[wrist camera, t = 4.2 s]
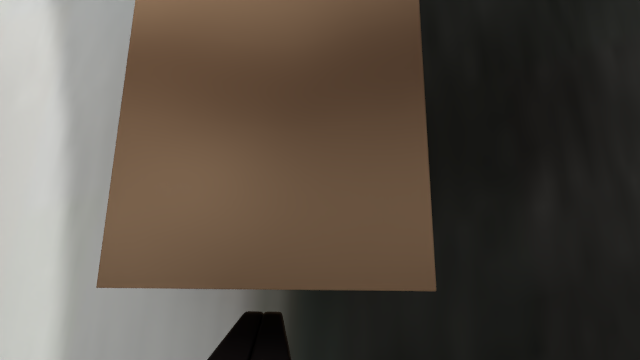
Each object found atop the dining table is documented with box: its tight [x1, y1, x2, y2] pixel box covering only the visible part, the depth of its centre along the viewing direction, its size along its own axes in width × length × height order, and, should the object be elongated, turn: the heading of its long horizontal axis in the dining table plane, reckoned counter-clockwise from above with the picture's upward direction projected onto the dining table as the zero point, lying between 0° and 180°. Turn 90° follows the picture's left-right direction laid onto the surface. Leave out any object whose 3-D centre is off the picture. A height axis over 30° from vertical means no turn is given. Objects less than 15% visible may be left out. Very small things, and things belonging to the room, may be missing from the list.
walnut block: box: [96, 0, 436, 291], centre depth 13 cm, size 9×7×8 cm
